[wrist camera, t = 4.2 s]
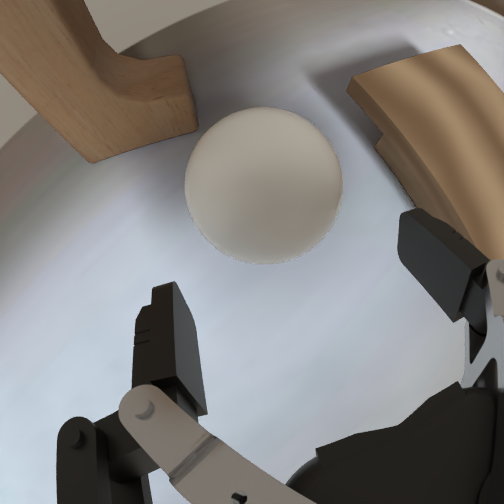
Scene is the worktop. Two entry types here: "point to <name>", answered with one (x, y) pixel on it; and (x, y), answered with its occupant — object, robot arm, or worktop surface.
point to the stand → (442, 138)
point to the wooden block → (91, 80)
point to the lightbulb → (263, 185)
